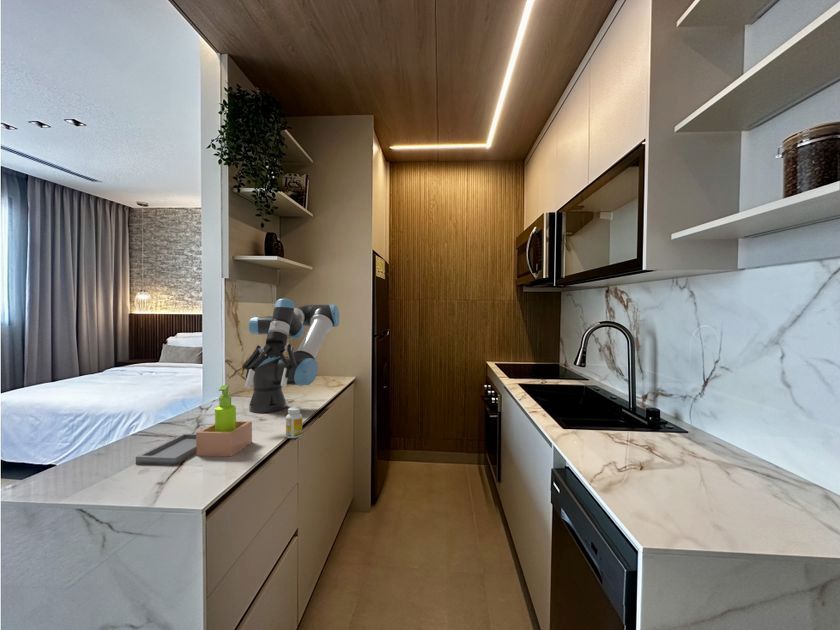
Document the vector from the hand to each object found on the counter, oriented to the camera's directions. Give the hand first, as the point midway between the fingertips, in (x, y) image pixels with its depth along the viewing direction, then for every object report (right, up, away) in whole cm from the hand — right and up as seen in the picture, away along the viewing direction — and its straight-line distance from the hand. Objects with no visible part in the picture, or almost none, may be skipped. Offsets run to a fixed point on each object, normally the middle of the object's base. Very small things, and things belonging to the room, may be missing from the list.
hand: (265, 386), depth 138 cm
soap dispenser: (-6, -17, -17) cm, 24 cm away
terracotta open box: (-6, -16, -17) cm, 24 cm away
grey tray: (-19, -16, -19) cm, 31 cm away
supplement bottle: (+12, -16, -5) cm, 21 cm away
